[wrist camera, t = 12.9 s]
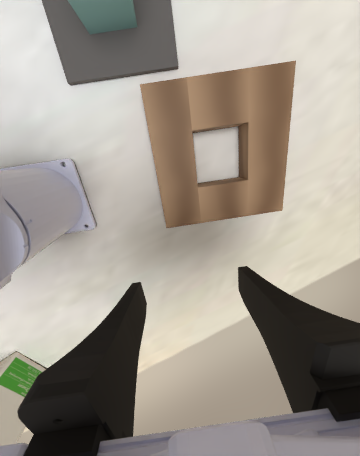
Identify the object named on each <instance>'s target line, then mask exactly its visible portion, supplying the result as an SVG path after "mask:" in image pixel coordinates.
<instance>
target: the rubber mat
mask: <svg viewBox="0 0 360 456" xmlns="http://www.w3.org/2000/svg"><path fill="white" fill-rule="evenodd" d="M42 3H43V6H44V9H45V12H46V15H47V18H48V22H49V25H50V28H51V31H52V34H53V38H54V41H55V44H56V47H57V50H58V53H59V57H60V60H61V63H62V66H63V69H64V73H65V76H66V79H67V82H68V84H70V85H75V84H82V83H88V82H95V81H102V80H108V79H115V78H121V77H128V76H134V75H141V74H147V73H154V72H160V71H167V70H174V69H178V60H177V52H176V43H175V34H174V25H173V16H172V7H171V0H133V4H134V10H135V16H136V21H137V27H135V28H128V29H122V30H116V31H109V32H103V33H96V34H89V32H88V31H87V29H86V28H85V26H84V25H83V23H82V22H81V20H80V19H79V17H78V15H77V14H76V12H75V11H74V9H73V8H72V6H71V5H70V3H69V2H68V0H42Z"/></svg>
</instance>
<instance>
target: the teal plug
mask: <svg viewBox="0 0 360 456" xmlns="http://www.w3.org/2000/svg"><path fill="white" fill-rule="evenodd" d="M68 2H69V3H70V5H71V6H72V8H73V9H74V11H75V12H76V14H77V15H78V17H79V19H80V20H81V22H82V23H83V25H84V26H85V28H86V29H87V31H88V32H89V34H96V33H103V32H109V31H116V30H122V29H128V28H135V27H137V21H136V16H135V10H134V4H133V0H68Z"/></svg>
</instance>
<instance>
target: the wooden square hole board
mask: <svg viewBox="0 0 360 456" xmlns="http://www.w3.org/2000/svg"><path fill="white" fill-rule="evenodd" d="M295 64H296V61H291V62H285V63H278V64H271V65H265V66H258V67H252V68H245V69H239V70H232V71H226V72H219V73H213V74H206V75H199V76H193V77H186V78H180V79H173V80H167V81H160V82H154V83H147V84H140V87H141V92H142V98H143V103H144V109H145V114H146V119H147V125H148V130H149V136H150V141H151V146H152V152H153V157H154V163H155V168H156V173H157V179H158V184H159V190H160V195H161V200H162V206H163V211H164V217H165V222H166V227H167V228H171V227H177V226H184V225H191V224H197V223H204V222H210V221H217V220H223V219H230V218H236V217H243V216H249V215H256V214H262V213H269V212H275V211H282V208H283V197H284V186H285V175H286V164H287V153H288V142H289V131H290V120H291V108H292V97H293V86H294V75H295ZM236 126H239V177H237V178H231V179H224V180H217V181H211V182H204V183H198V184H197V174H196V164H195V154H194V144H193V134H192V133H197V132H203V131H210V130H217V129H223V128H230V127H236Z"/></svg>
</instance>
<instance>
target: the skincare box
mask: <svg viewBox="0 0 360 456" xmlns="http://www.w3.org/2000/svg"><path fill="white" fill-rule="evenodd" d="M45 370H46V369H45V368H43V367H42V366H40V365H38V364H37V363H35V362H33V361H32V360H30V359H28V358H27V357H25V356H23V355H22V354H20V353H18V352H15V353H13V354H12V355H10V356H9V357H7V358H6V359H4V360H3V361H1V362H0V446H4V445H10V444H16V443H17V441H18V439H19V438H20V436H21V434H22V432H23V431H24V429H25V427H26V426H25V425H24V424H23V423H22V422H21V421H20V419H19V418H18V413H17V411H18V408H19V406H20V404H21V403H22V401H23V399H24V398H25V396H26V394H27V393H28V391H29V389H30V388H31V386H32V384H33V383H34V381H35V379H36V378H37V376H38V375H39V374H40V373H42V372H43V371H45Z"/></svg>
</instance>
